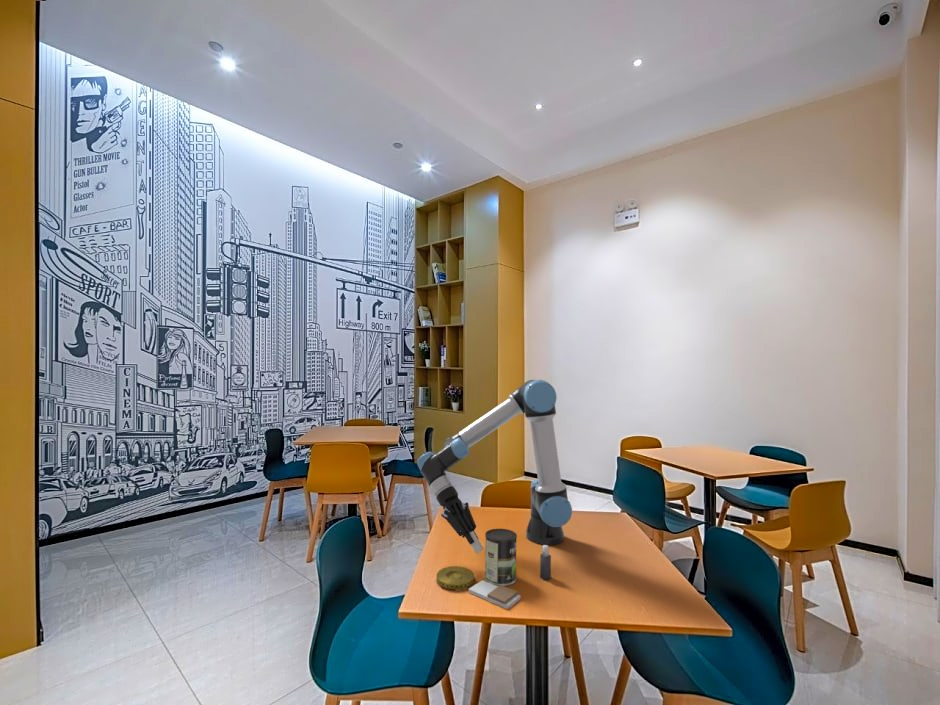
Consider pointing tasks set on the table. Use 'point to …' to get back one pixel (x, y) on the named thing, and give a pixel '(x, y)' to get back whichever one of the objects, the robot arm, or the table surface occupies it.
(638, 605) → the table surface
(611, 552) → the table surface
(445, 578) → the olive gold disc
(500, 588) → the white and brown box
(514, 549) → the coffee can
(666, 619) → the table surface
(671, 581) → the table surface
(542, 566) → the grey white-capped bottle
